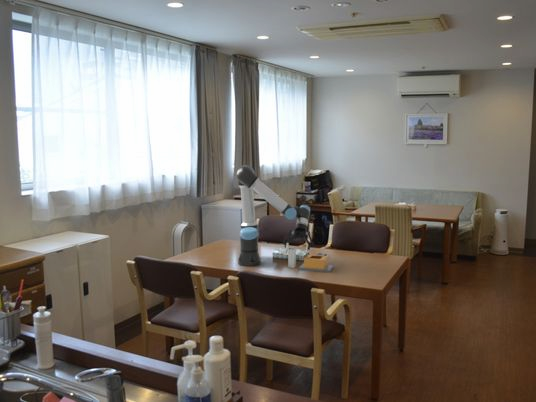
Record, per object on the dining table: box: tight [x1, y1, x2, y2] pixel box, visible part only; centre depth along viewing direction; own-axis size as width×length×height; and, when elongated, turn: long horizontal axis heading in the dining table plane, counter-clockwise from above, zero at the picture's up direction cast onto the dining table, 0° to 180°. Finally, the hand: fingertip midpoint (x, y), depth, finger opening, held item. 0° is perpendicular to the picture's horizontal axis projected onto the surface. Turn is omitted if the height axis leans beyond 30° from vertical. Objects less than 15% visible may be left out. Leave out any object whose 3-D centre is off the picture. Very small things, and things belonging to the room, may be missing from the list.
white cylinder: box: [287, 247, 297, 269], centre depth 325 cm, size 4×4×12 cm
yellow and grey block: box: [297, 254, 335, 273], centre depth 320 cm, size 20×12×8 cm, turn 71°
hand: (296, 253), depth 328 cm, fingers open, 13 cm apart
